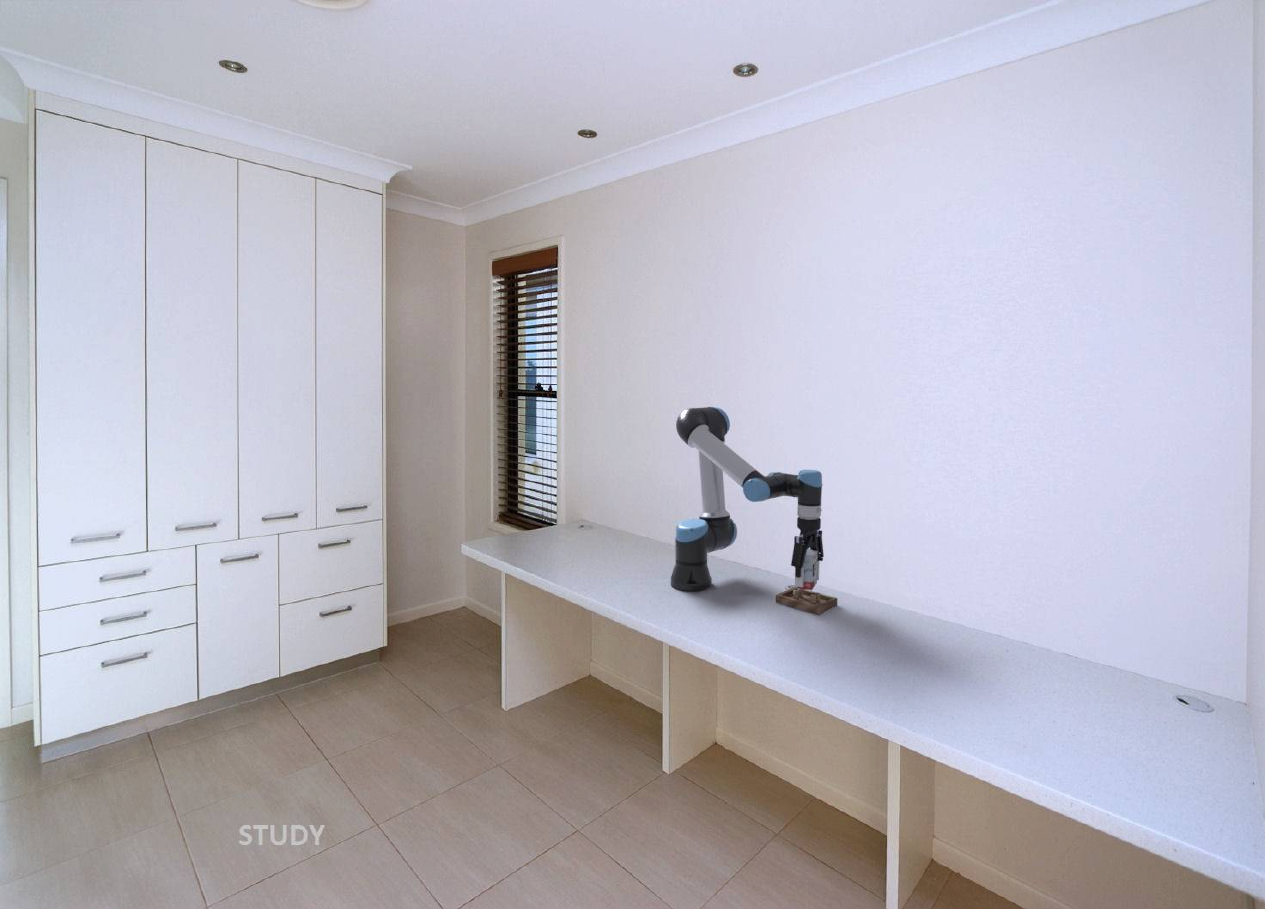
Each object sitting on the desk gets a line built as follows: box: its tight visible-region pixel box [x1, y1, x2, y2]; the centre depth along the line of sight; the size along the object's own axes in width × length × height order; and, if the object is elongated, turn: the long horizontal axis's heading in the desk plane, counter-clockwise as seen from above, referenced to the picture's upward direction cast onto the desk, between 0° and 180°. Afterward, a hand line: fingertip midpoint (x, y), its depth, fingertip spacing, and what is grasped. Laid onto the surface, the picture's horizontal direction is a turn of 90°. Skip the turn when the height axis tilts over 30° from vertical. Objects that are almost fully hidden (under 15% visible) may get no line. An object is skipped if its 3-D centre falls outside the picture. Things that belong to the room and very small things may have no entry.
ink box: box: [797, 548, 818, 591], centre depth 206 cm, size 9×5×12 cm, turn 152°
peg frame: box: [775, 586, 838, 616], centre depth 207 cm, size 16×12×4 cm
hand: (807, 582), depth 207 cm, fingers closed on ink box, 9 cm apart
